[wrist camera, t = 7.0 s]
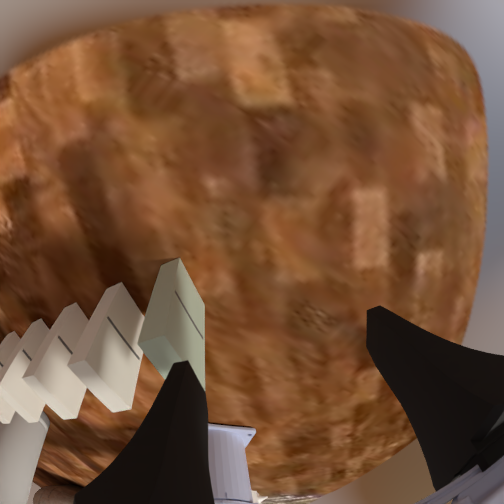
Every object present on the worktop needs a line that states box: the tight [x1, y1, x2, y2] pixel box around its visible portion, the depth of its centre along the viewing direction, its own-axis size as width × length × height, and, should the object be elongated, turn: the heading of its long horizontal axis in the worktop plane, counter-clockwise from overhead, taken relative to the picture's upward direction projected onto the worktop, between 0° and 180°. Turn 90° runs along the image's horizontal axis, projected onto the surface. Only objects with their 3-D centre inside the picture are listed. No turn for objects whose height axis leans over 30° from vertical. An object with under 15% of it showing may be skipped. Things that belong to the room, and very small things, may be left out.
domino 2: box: [0, 319, 50, 423], centre depth 16 cm, size 1×4×8 cm, turn 21°
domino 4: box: [67, 282, 145, 412], centre depth 16 cm, size 1×4×8 cm, turn 21°
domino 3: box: [22, 303, 89, 420], centre depth 16 cm, size 1×4×8 cm, turn 21°
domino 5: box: [137, 258, 205, 390], centre depth 16 cm, size 1×4×8 cm, turn 20°
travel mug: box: [0, 411, 50, 504], centre depth 15 cm, size 6×7×20 cm
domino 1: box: [0, 331, 21, 424], centre depth 16 cm, size 1×4×8 cm, turn 21°
